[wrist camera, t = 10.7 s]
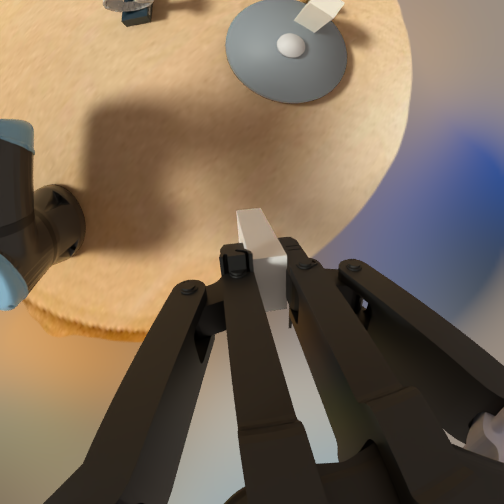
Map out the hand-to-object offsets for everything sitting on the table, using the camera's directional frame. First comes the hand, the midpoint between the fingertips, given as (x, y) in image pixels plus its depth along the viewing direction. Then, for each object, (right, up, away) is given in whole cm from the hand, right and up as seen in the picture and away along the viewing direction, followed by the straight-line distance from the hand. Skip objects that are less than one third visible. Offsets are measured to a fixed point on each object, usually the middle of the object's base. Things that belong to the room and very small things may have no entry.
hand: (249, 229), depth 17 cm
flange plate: (+7, +33, +16) cm, 37 cm away
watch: (-19, +39, +11) cm, 45 cm away
